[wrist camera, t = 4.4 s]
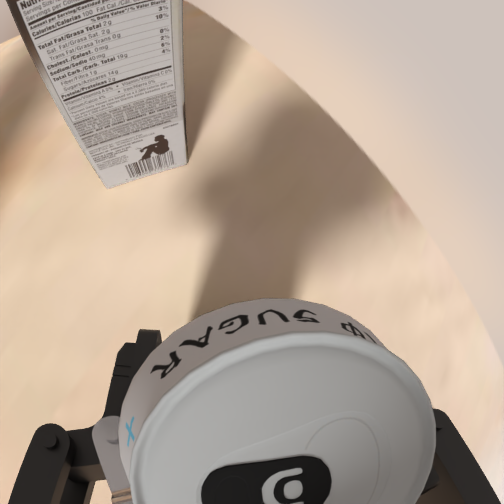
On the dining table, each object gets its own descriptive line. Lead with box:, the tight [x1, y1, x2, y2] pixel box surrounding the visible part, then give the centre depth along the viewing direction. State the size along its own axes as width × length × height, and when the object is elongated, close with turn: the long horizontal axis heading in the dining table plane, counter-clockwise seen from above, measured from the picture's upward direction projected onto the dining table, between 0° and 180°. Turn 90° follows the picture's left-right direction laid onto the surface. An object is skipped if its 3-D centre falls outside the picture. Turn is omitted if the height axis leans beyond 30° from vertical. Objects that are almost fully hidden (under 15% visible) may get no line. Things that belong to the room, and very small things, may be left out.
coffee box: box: [6, 0, 188, 189], centre depth 13 cm, size 9×6×16 cm
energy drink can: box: [118, 298, 436, 504], centre depth 10 cm, size 6×6×15 cm
